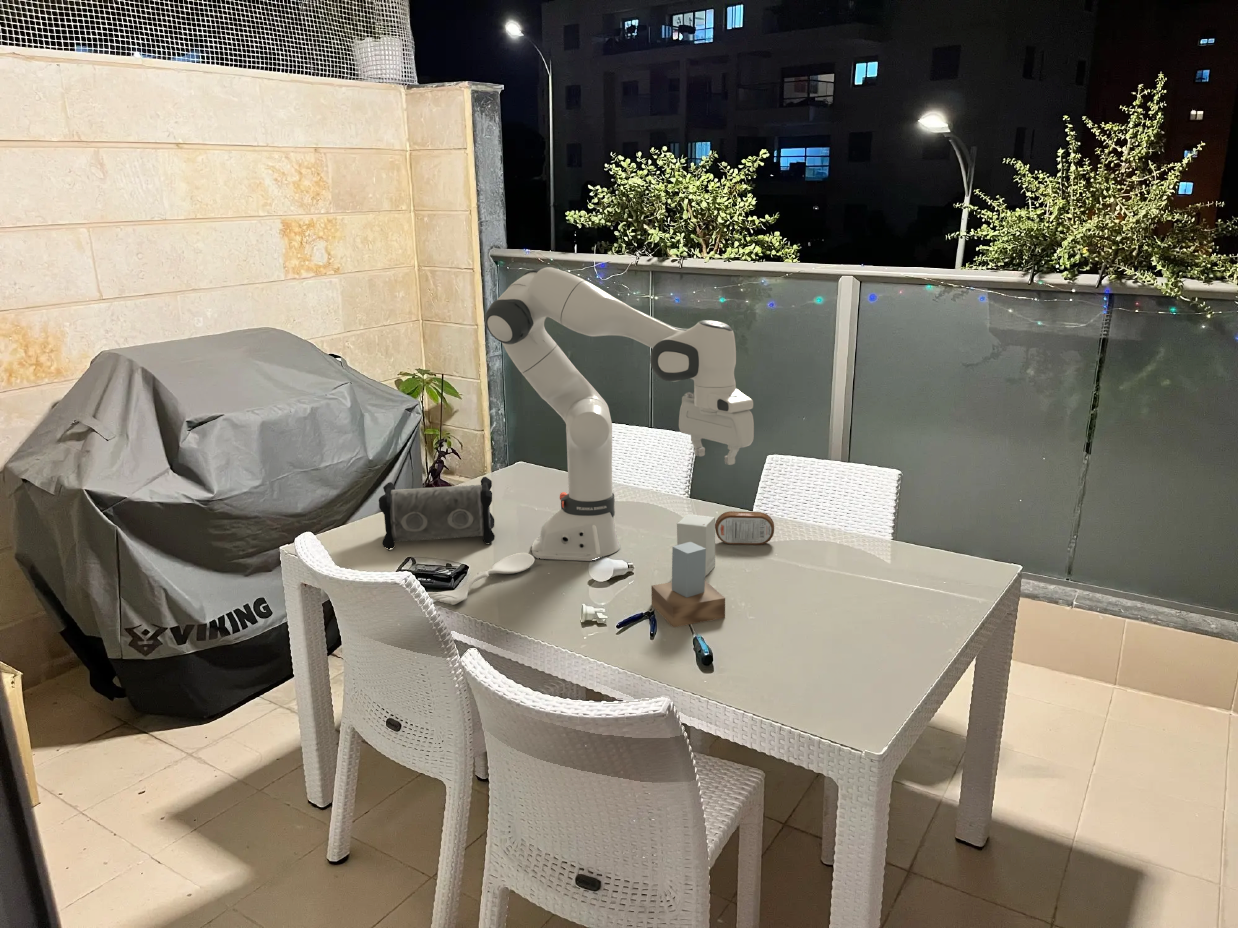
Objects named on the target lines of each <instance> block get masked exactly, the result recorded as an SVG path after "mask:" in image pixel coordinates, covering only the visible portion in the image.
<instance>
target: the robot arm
mask: <svg viewBox="0 0 1238 928" xmlns="http://www.w3.org/2000/svg"><path fill="white" fill-rule="evenodd" d="M547 318H549V319H552V320H553V321H555V322H557V323H558V324H560V325H561V326H564V327H565V328H567V329H569V330H570V331H573V332H576V333H578V334H580V335H581V334H582V335H585V336H588V337H603V336H606V337H607V336H618V337H624V338H625V337H626V338H630V339H632V340H633V341H637V342H638V343H641V344H643V345H645V346H647V347H649V348H651V352H650V356H649V361H650V363H649V364H650V366H651V370H652V371H653V373H654V375H656V377H658V378H659V379H661V380H662V381H666V382H675V383H676V382H679V381H684V380H689V379H691V380H693V390H694V392H690V391H688V392H685V393H684V395H683V396H681V405H680V407H679V408H680V409H679V414H678V415H679V417H678V428H679V432H680V433H681V434H685V435H688V436H690V440H691V443H692V446H693V448H694V455H695V456H697V457H704V456H705V455H706V452H705V451H706V448H705V447H704V446H703V444H702V443H703V442H702V439H704V440H708V441H713V442H717V443H718V444H719V443H720V444H724V445H727V450H729V451H728V453H727V455H724V464H725V465H728V466H732V465H735V464H736V456H737V455H738V453H739V451H740V449H741V448H746V447H749V446H751V445H752V443H753V442H754V438H755V436H754V435H755V424H754V423H755V422H754V421H755V420H754V415H753V413H752V411H751V410H752V409H753V408H754V400H753V399H752V398H750V396H747V394H744V392H741V390H739V389H738V388H737V386H736V385H737V383H736V379H735V378H736V377H735V368H736V364H737V348H736V347H737V346H736V337H735V333H734V330H733V329H732V327H731V326H730V325H728V323H726V322H722V321H719V320H718V321H717V320H709V319H707V320H705V319H703V320H700V321H699V320H698V322H697V323H696V324H695V325H693V326H692V327H689V328H680V327H675V326H673V325H670V324H668V323H666V322H663V321H661V320H659V319H658V318H655V317H653V316H651V315H649V314H647V313H644V312H642V311H640V310H638V309H636V308H634V307H632V306H630V305H629V304H626V303H625V302H624V301H621V300H620V299H618V298H616V297H614V296H613V295H611V294H610V293H608V292H606V291H605V290H603V289H601V288H600V287H598V286H596V285H594V284H593V283H591V282H590V281H587V280H585V279H583V278H581V277H579V276H577V275H574V274H572V273H570V272H567V271H565V270H562V269H559V268H555V267H552V266H547V267H543V266H539V267H535V268H532V269H530V270H528V271H527V272H525V273H524V274H523V276H521V277H520V278H518V279H516V280H515V281H514V282H513V283H511V284H510V285H509V286H508V287H507V288H506V289H505V290H504V292H502V294H501V295H500V296H499V297H498V298H497V299H495V301H493V302H492V303H491V304H490V306H489V307H488V309H487V310H486V313H485V315H484V323H485V327H486V329H487V330H488V332H489V333H490V335H491V336H492V337H493V339H495V340H497V341H498V342H500V343H501V344H502V346H503V347H504V351H506V353H507V355H508V357H509V358H510V360H511V361H512V362H513V364H514V365H515V367H516V368H517V370H518V371H519V372H520V373H521V375H522V376H523V377H524V378H525V380H526V381H527V382H528V383H529V384H530V386H531V387H532V388H533V389H534V391H536V393H537V394H538V396H539V397H540V398H541V399H542V400H544V401H545V402H546V403H547V404H548V405H549V406H550V408H552V409H553V410H554V411H555V412H556V413H557V414H558V415H559V416H560V417H561V419H562V420H563V422H564V423H565V433H566V452H567V453H566V457H567V479H568V480H567V481H568V482H567V484H568V487H567V488H568V493H567V492H566V491H562V492H560V494H559V500H560V507H561V508H560V509H559V510H558V511H557V512H555V513H554V514H553V515H551V516H550V517H548V518H547V519H546V520H545V521H544V522H543V525H542V526H541V530H540V534H539V537H537V538H535V539H534V540H533V542H532V545H531V553H532V554H531V555H532V556H533V557H534V558H536V559H539V558H540V560H541V559H542V560H544V559H545V560H561V561H564V560H566V561H581V562H583V561H584V562H585V561H587V562H593V561H592V559H595V558H598V557H601V558H603V557H606V556H609V555H612V554H614V553H616V552H618V551H619V550H620V548H621V544H620V541H619V537H618V534H617V530H616V529H617V528H616V523H615V513H616V499H615V494H614V492H613V421H612V418H611V413H610V408H609V405H608V403H607V402H606V400H605V399H604V398H603V397H602V396H601V395H600V394H599V392H598V391H597V390H596V388H594V386H593V385H592V384H591V383H590V382H589V381H588V379H586V378H585V376H583V374H582V373H581V372H580V370H578V368H576V366H575V365H574V364H573V363H572V362H571V360H570V359H569V358H568V356H567V355H566V354H565V353H564V351H563V349H562V348H561V347H560V346H559V345H558V343H557V342H556V341H555V340H554V339H553V338H552V336H551V335H550V334H549V333H548V332H547V330H546V328H545V321H546V319H547ZM602 556H603V557H602Z"/></svg>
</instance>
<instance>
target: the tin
mask: <svg viewBox="0 0 1238 928" xmlns="http://www.w3.org/2000/svg"><path fill="white" fill-rule="evenodd" d="M774 534H775V522H774V519H772V517H771V516H770V515H768V513H765V512H760V511H736V510H735V511H734V510H733V511H726V512H724V513H722V514H720V515H719V516H718V517H717V518H716V519H715V535H716V537H717V538H718V539H719V540H720V541H721V542H722V543H724V544H727V545H739V546H740V545H743V546H745V545H746V546H752V545H753V546H761V545H762V546H763V545H765V544H767V543H768V542H770V541H771V540H772V538H773V537H774Z"/></svg>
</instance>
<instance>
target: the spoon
mask: <svg viewBox="0 0 1238 928" xmlns="http://www.w3.org/2000/svg"><path fill="white" fill-rule="evenodd" d="M535 558H536V557H535V556H534V555H533V554H530V553H528V552H518V553H513V554H510V555H508V556H505V557H502V558H501V559H499V560H498V561H496V562H495V563H494V564H492V566H491V568H490V569H487V570H484V571H478V572H477V574H476V575H474V576H473V577H471V578H470V579H469V580H468V581H466V582H465V584H463V586H461V587H459V588H457V589H454V590H444V591H438V592H436V591H434V592H433V591H427V593H428V595H429V597H430V598H429V597H428V598H429V599H433V600H434V601H439V602H441V603H444V604H448V605H449V604H450V605H457V604H459V603H460V602H462V601H464V600H466V599H467V598H468V596H469V595H468V593H469V591H470V589H471V587H472V586H473V585H474V584H475V582H478V581H479V580H481V579H485V578H488V577H490V575H492V574H501V575H502V574H503V575H511V574H517V573H521V572H524V571H525V570H527V569H529V568H530V567H532V566H533V564H534V563H535V562H536V561H535V560H536V559H535Z"/></svg>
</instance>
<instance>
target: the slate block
mask: <svg viewBox="0 0 1238 928" xmlns="http://www.w3.org/2000/svg"><path fill="white" fill-rule="evenodd" d="M671 547H672V553H671V555H672V556H671V557H672V558H671V560H672V562H671V564H672V565H671V582H672V590H673V591H675V592H677V593H678V594H680V595H682V596H684V597H686V598H687V597H690V596H694V595H697V594H700V593H703V592H705V581H706V576H705V558H706V548H703V547H701V546H699V545H697V544H695V543H692V542H688V543H684V544H680V545H677V544H676V545H673V546H671Z"/></svg>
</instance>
